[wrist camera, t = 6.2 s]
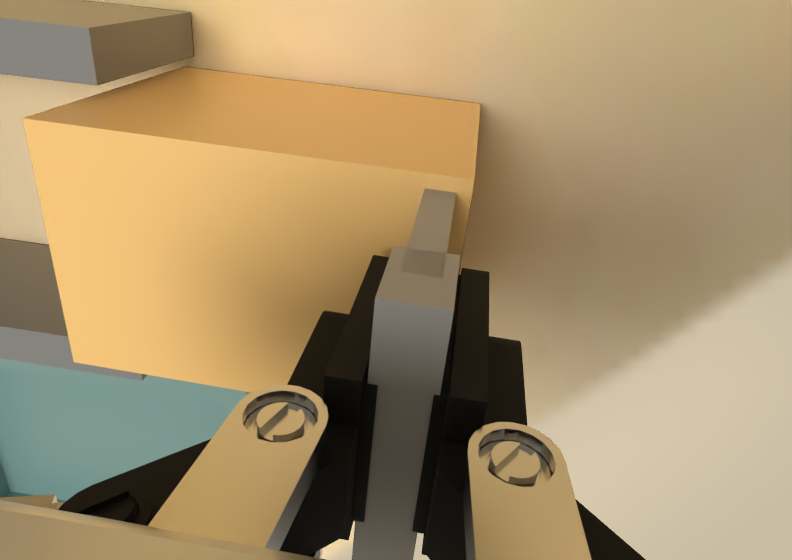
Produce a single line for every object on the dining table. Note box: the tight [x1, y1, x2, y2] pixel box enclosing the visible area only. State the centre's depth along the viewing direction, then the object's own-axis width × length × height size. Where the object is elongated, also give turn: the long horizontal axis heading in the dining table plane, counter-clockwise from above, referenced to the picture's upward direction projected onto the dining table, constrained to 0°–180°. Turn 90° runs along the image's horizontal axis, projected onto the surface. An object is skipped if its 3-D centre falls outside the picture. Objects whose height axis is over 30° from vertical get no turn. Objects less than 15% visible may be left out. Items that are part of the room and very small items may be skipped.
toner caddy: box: [23, 67, 481, 560], centre depth 14 cm, size 9×6×11 cm, turn 84°
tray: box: [0, 358, 251, 503], centre depth 24 cm, size 13×11×2 cm
